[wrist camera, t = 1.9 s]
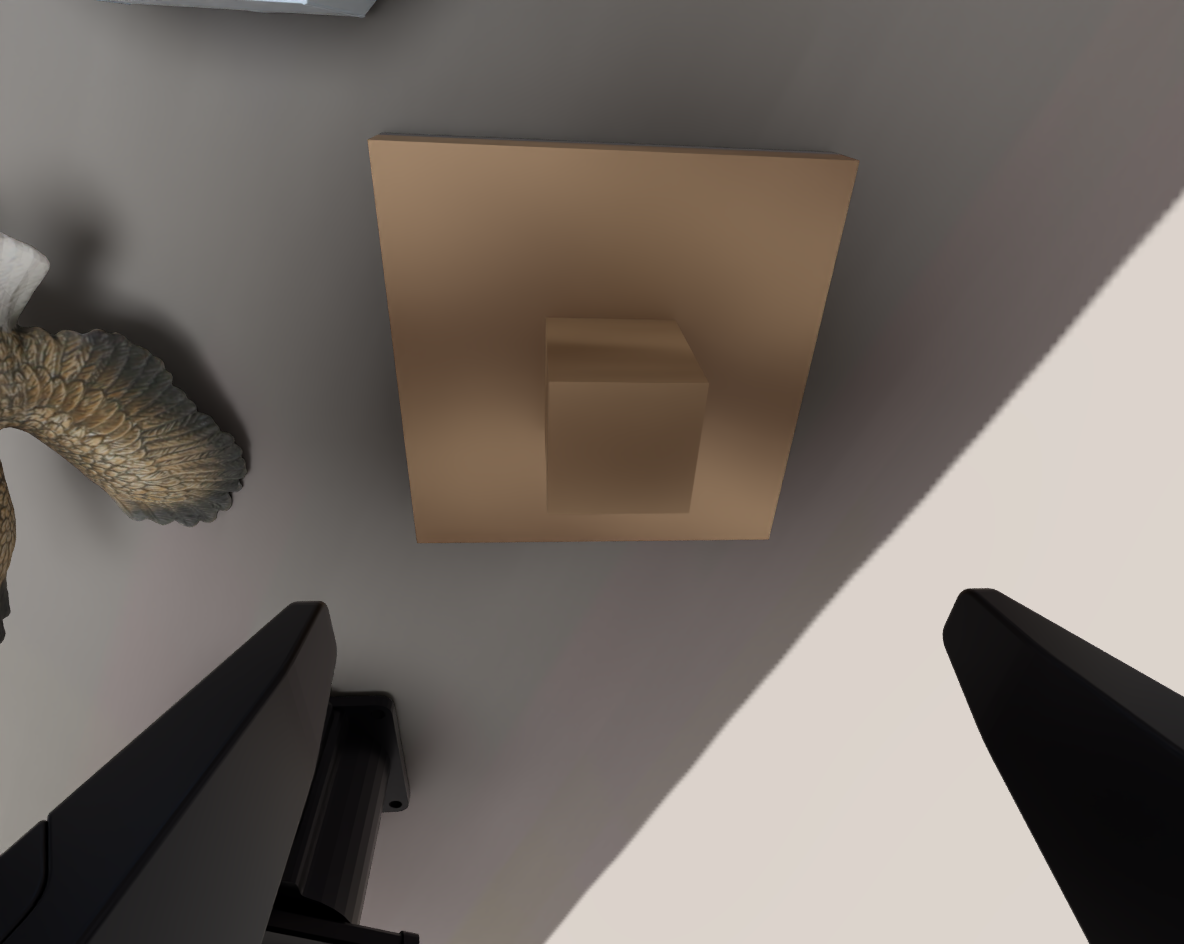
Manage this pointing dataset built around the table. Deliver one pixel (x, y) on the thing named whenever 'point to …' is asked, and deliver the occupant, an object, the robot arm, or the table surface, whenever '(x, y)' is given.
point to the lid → (601, 331)
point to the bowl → (271, 5)
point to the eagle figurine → (105, 416)
